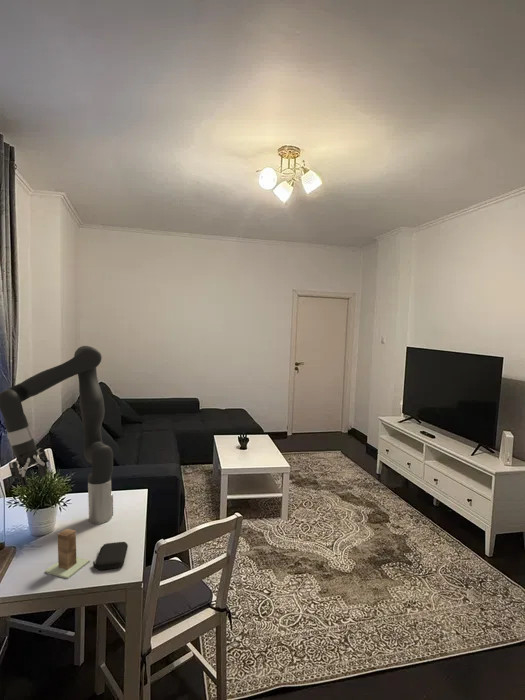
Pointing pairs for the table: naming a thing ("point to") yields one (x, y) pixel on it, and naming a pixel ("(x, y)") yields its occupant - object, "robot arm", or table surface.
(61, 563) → the walnut handle block
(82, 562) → the sage mat
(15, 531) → the table surface
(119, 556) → the carrying case or bag
